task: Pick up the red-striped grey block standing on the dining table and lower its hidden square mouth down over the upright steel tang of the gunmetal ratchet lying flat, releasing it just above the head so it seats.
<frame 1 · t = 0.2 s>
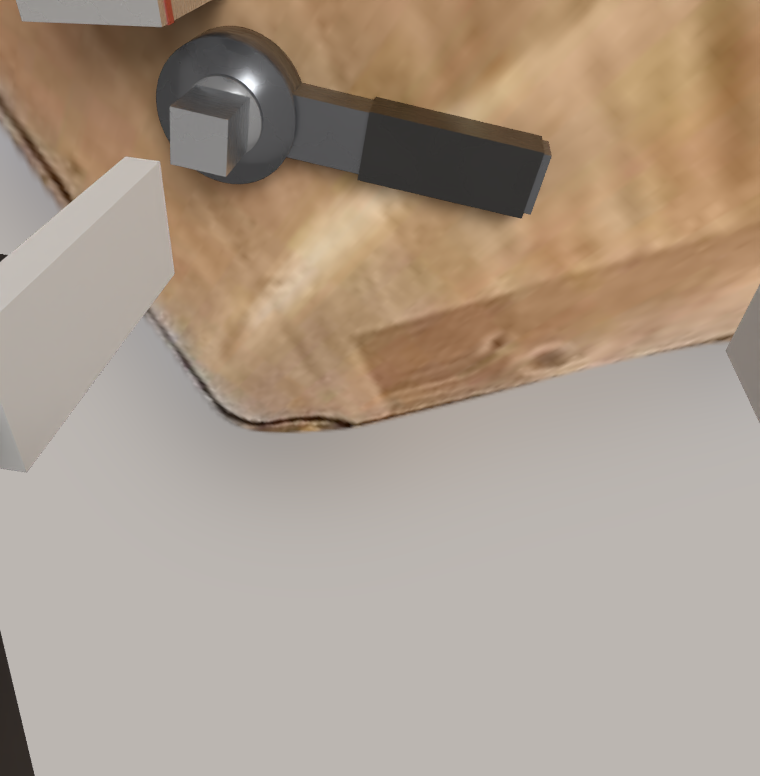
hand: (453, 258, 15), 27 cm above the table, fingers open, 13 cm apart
ratchet: (240, 100, 40), on the table
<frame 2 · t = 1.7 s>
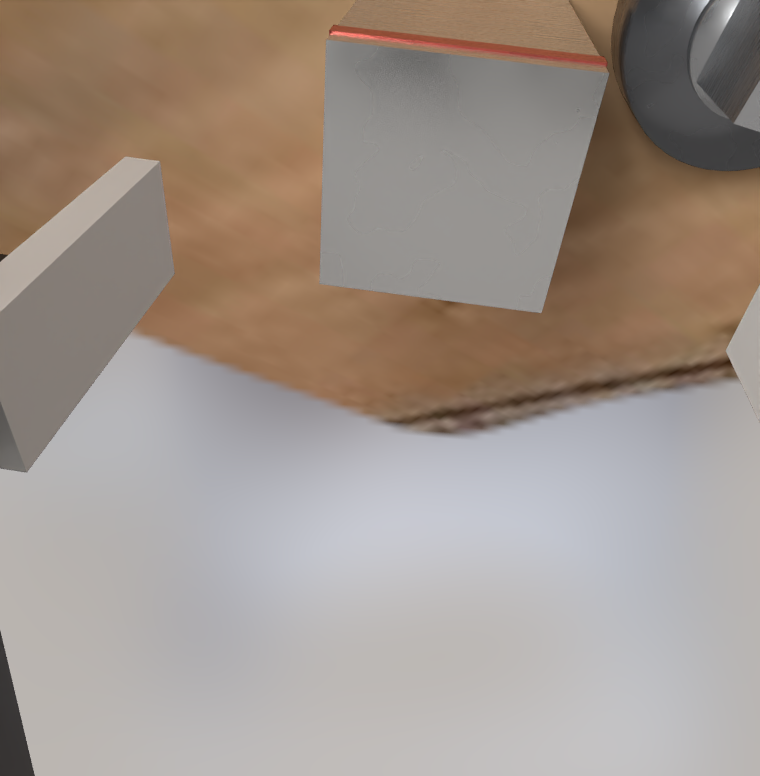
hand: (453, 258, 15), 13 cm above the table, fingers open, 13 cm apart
red-striped grey block: (456, 83, 25), on the table
ratchet: (735, 20, 22), on the table
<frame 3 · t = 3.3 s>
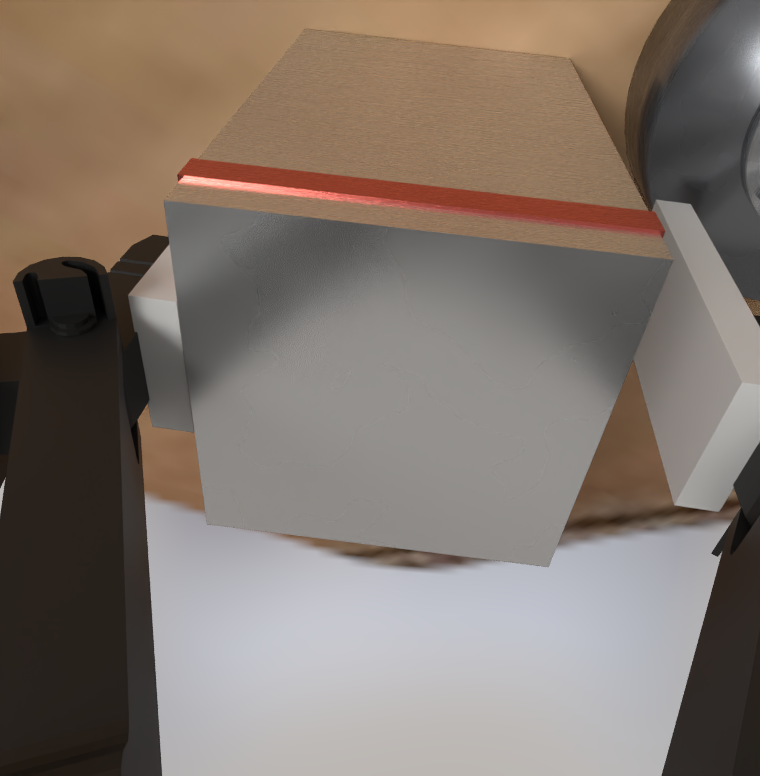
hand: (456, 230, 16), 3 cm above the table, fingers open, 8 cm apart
red-striped grey block: (420, 173, 18), on the table, touching gripper
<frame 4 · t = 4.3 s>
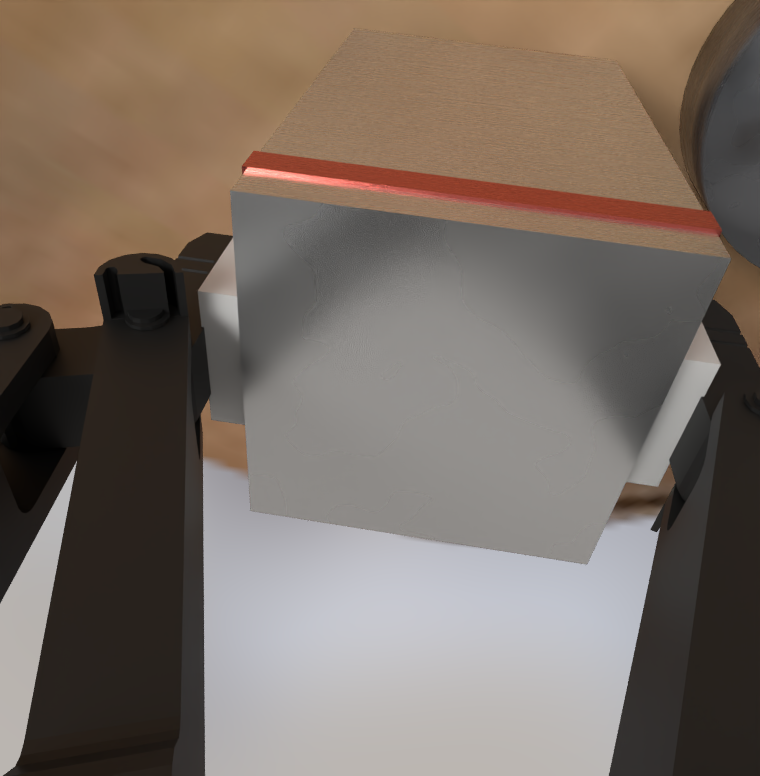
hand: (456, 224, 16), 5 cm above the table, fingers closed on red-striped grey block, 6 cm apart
red-striped grey block: (462, 172, 18), point 2 cm above the table, touching gripper
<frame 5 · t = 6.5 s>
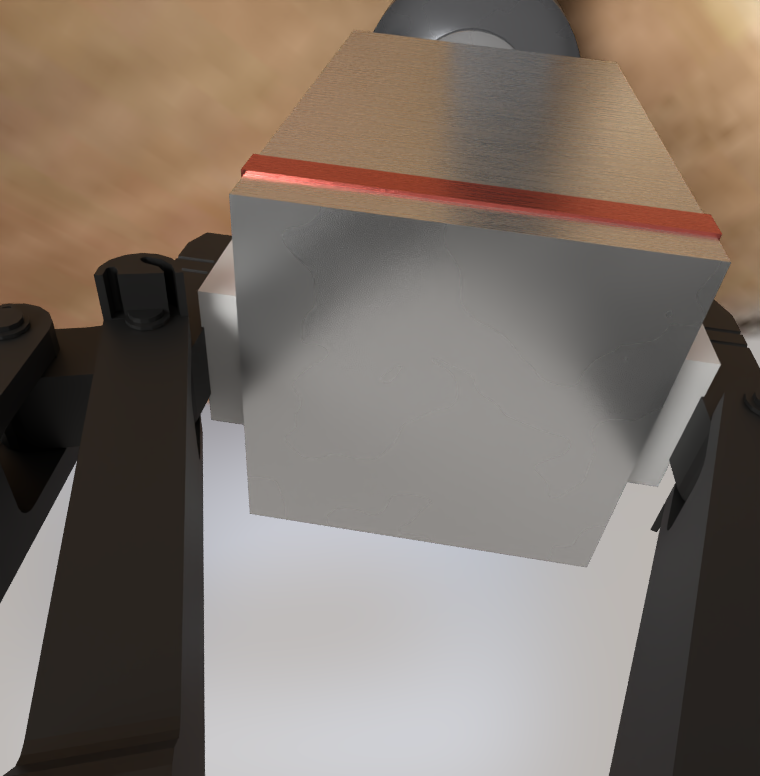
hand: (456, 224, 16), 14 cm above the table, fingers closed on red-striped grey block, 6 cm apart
red-striped grey block: (462, 174, 18), point 11 cm above the table, touching gripper
ratchet: (469, 74, 27), on the table
when the fingers open (8 cm above the table, at t = 8.7 s): red-striped grey block drops 2 cm, resting on ratchet.
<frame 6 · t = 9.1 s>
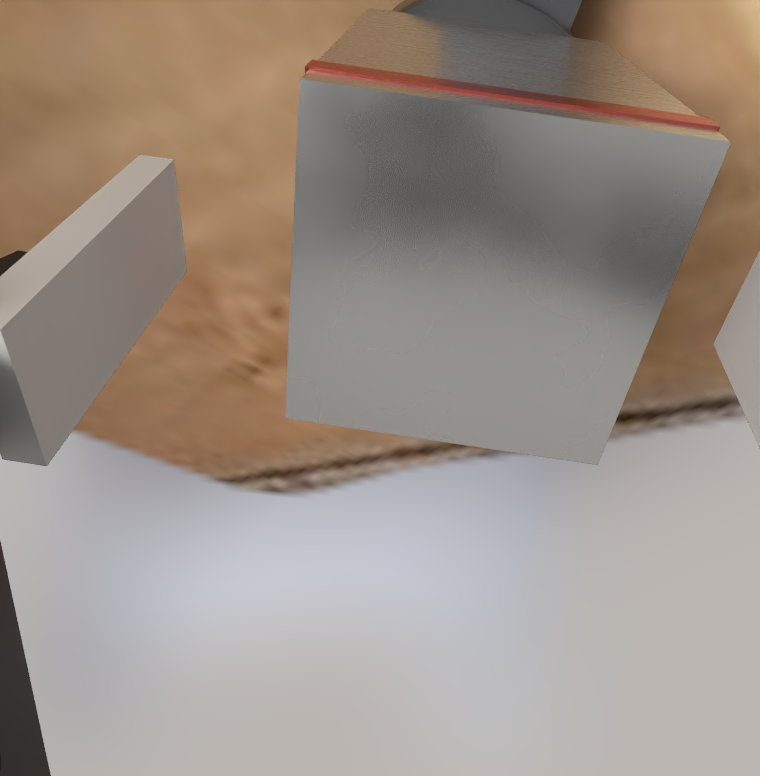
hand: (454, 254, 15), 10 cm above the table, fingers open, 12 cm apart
red-striped grey block: (464, 145, 20), point 3 cm above the table, touching ratchet
ratchet: (466, 115, 22), on the table
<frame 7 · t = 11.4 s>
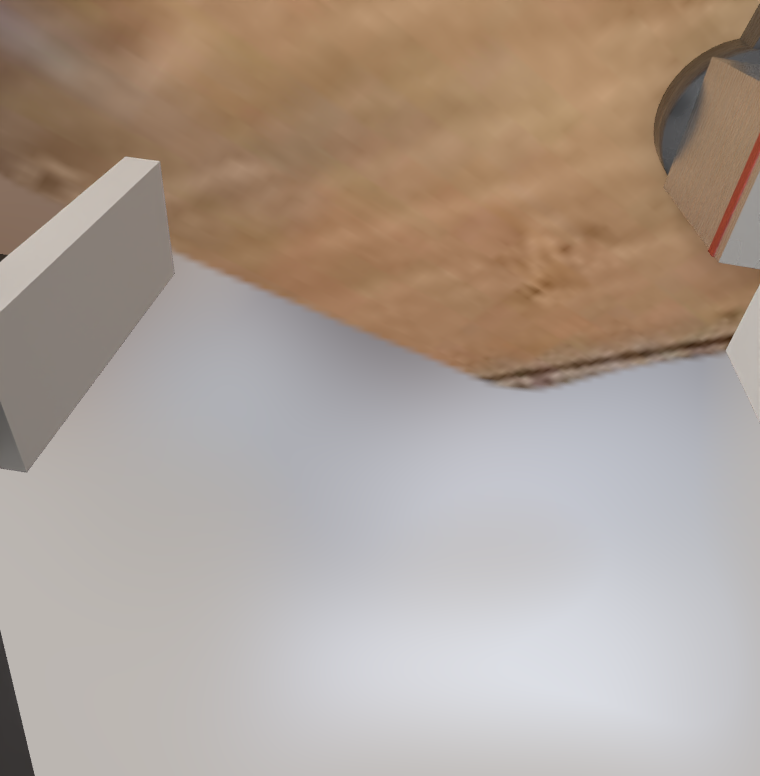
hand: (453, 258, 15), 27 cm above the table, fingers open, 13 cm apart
red-striped grey block: (749, 135, 34), point 3 cm above the table, touching ratchet
ratchet: (731, 118, 36), on the table
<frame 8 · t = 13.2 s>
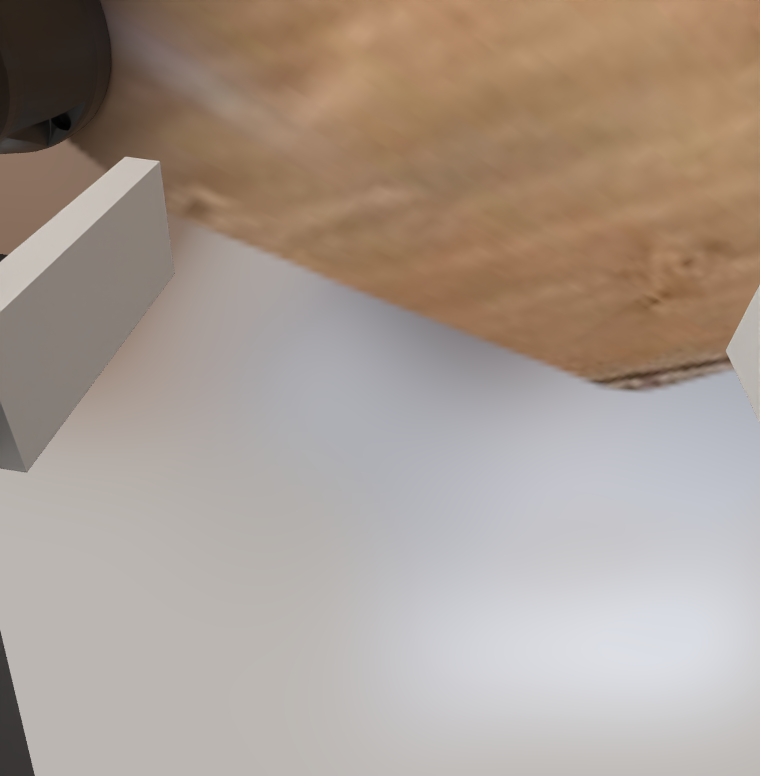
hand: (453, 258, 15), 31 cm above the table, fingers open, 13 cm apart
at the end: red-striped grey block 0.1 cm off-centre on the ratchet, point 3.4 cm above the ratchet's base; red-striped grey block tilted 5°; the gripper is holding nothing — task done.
